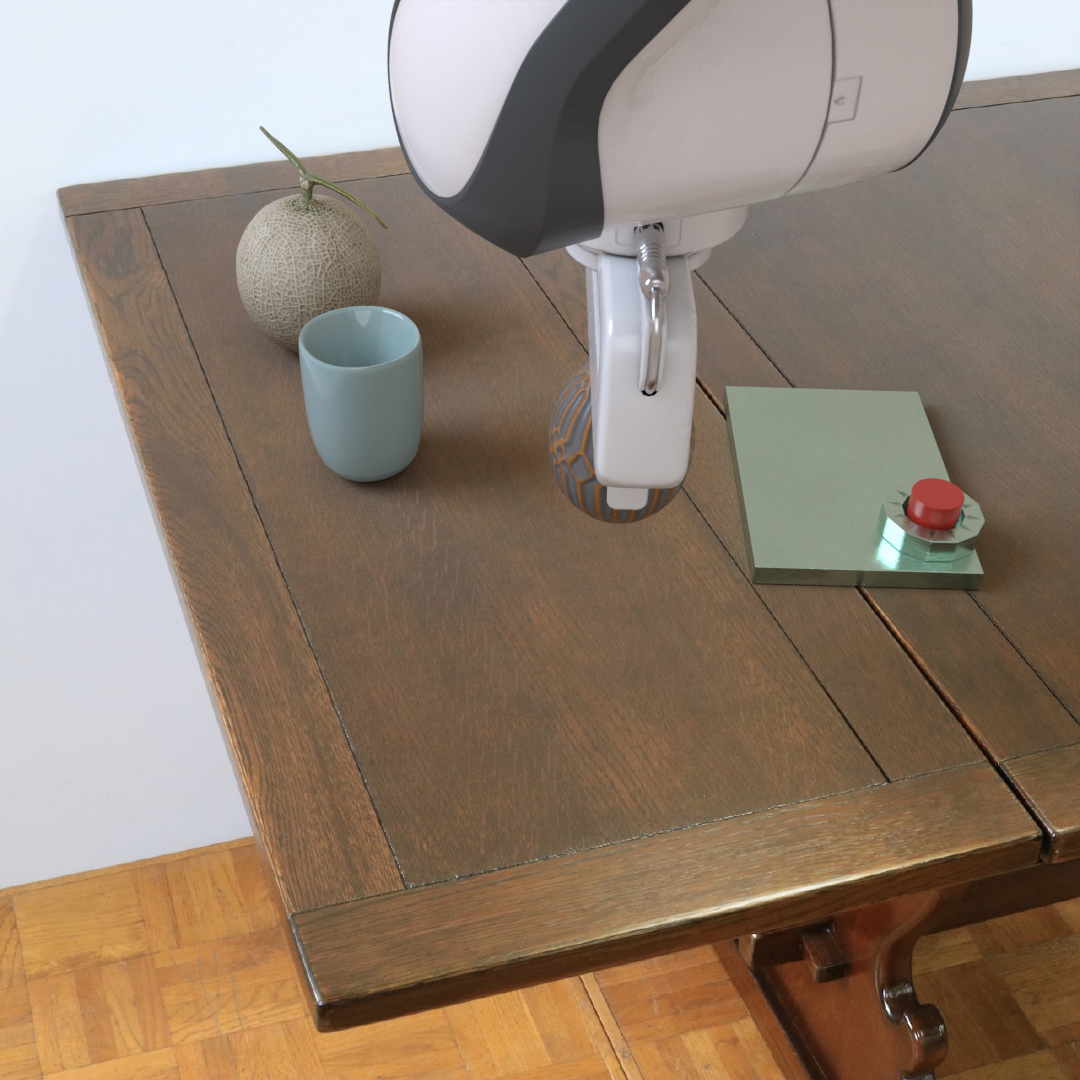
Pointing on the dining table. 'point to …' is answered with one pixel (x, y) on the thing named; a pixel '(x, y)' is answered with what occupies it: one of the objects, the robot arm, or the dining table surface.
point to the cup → (363, 390)
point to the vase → (591, 457)
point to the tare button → (935, 504)
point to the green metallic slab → (843, 490)
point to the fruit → (305, 259)
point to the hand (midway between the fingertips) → (621, 445)
